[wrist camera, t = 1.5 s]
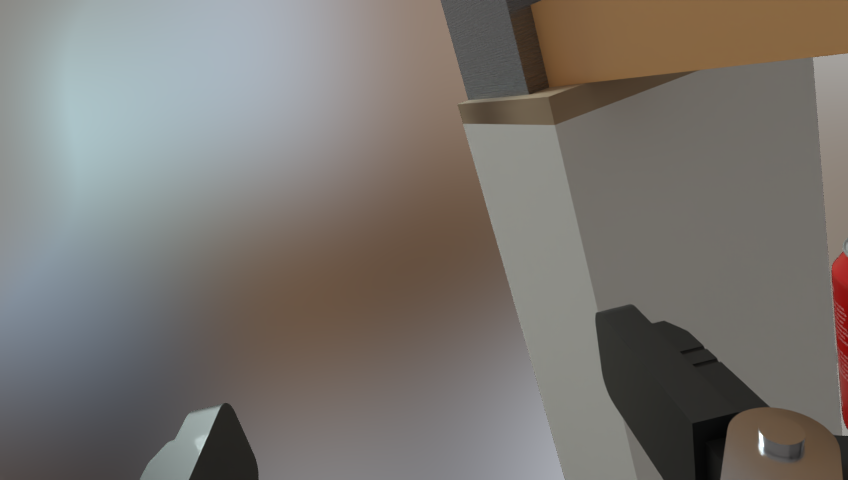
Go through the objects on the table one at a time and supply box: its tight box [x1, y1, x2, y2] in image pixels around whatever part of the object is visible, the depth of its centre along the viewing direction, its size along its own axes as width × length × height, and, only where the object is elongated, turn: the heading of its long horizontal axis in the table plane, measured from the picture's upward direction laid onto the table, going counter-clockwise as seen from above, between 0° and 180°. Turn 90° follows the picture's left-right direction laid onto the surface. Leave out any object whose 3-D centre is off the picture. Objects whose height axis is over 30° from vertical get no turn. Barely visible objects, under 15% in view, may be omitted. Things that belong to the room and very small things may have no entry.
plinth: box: [458, 57, 842, 480], centre depth 24 cm, size 7×10×32 cm
